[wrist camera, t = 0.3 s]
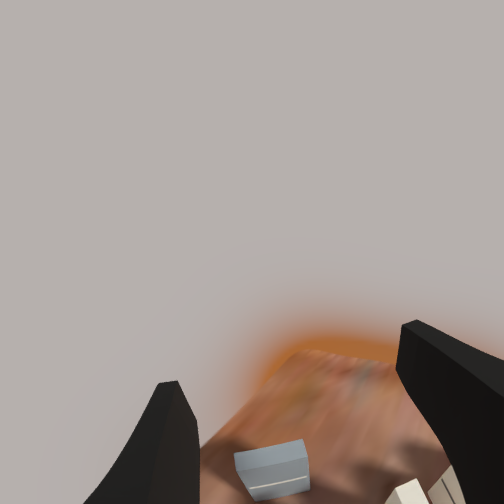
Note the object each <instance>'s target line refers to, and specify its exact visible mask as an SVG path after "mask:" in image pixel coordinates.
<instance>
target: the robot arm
mask: <svg viewBox="0 0 504 504" xmlns="http://www.w3.org/2000/svg"><path fill="white" fill-rule="evenodd" d="M396 371H397V373H398V375H399V377H400V380H401V382H402V384H403V386H404V387H405V389H406V391H407V393H408V395H409V396H410V398H411V399H412V401H413V402H414V404H415V405H416V407H417V408H418V410H419V411H420V412H421V414H422V415H423V417H424V418H425V420H426V421H427V423H428V424H429V426H430V427H431V429H432V430H433V432H434V433H435V435H436V436H437V438H438V439H439V441H440V443H441V445H442V446H443V448H444V450H445V452H446V455H447V457H448V459H449V461H450V463H451V465H452V468H453V470H454V472H455V475H456V477H457V480H458V482H459V485H460V488H461V491H462V494H463V497H464V500H465V503H466V504H504V360H501V359H499V358H496V357H494V356H491V355H489V354H487V353H484V352H482V351H480V350H478V349H476V348H474V347H472V346H469V345H467V344H465V343H463V342H461V341H459V340H457V339H455V338H453V337H451V336H449V335H447V334H445V333H443V332H441V331H440V330H437V329H436V328H434V327H432V326H430V325H427V324H425V323H423V322H421V321H419V320H414V321H411V322H409V323H406V324H403V325H402V327H401V335H400V343H399V350H398V356H397V363H396ZM83 504H200V445H199V435H198V427H197V420H196V418H195V416H194V414H193V412H192V410H191V408H190V406H189V404H188V402H187V400H186V398H185V395H184V393H183V391H182V389H181V387H180V385H179V383H178V381H171V382H164V383H159V384H158V385H157V387H156V389H155V391H154V393H153V395H152V397H151V399H150V401H149V403H148V405H147V407H146V409H145V411H144V413H143V414H142V416H141V418H140V420H139V422H138V424H137V426H136V427H135V429H134V431H133V433H132V435H131V437H130V438H129V440H128V442H127V444H126V445H125V447H124V449H123V450H122V452H121V453H120V455H119V457H118V458H117V460H116V461H115V463H114V464H113V466H112V468H111V469H110V470H109V472H108V473H107V475H106V476H105V478H104V479H103V480H102V481H101V483H100V484H99V486H98V487H97V488H96V489H95V490H94V492H93V493H92V494H91V495H90V496H89V497H88V499H87V500H86V501H85V502H84V503H83Z"/></svg>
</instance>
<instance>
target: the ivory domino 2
mask: <svg viewBox="0 0 504 504" xmlns="http://www.w3.org/2000/svg"><path fill="white" fill-rule="evenodd" d="M427 493H428V495H429V497H430V499H431V501H432V503H433V504H466V503H465V500H464V497H463V494H462V491H461V488H460V485H459V482H458V480H457V477H456V475H455V472H454V470H453V468H452V465H450V466H449V468H448V469H447V470H446V471H445V472H444V474H443V475H442V476H441V477H440V478H439V480H438V481H437V482H436V483H435V484H434V485H433V486H432V487H431V489H430V490H429V491H428V492H427Z"/></svg>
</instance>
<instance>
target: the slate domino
mask: <svg viewBox="0 0 504 504" xmlns="http://www.w3.org/2000/svg"><path fill="white" fill-rule="evenodd" d="M234 458H235V466H236V472H237V473H238V475H239V477H240V478H241V480H242V482H243V483H244V485H245V486H246V488H247V490H248V491H249V493H250V494H251V496H252V498H253V499H254V501H255V502H257V501H263V500H269V499H274V498H279V497H284V496H288V495H293V494H297V493H301V492H305V491H309V490H310V478H309V465H308V456H307V452H306V449H305V446H304V442H303V439H300V440H296V441H292V442H288V443H284V444H279V445H275V446H270V447H265V448H260V449H255V450H250V451H244V452H238V453H234Z"/></svg>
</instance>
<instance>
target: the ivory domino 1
mask: <svg viewBox="0 0 504 504" xmlns="http://www.w3.org/2000/svg"><path fill="white" fill-rule="evenodd" d="M385 504H429V503H428V501H427V499H426V497H425V495H424V493H423V491H422V488H421V486H420V484H419V482H418V480H417V478H416V479H414V480H412V481H410V482H408V483H405V484H403V485H401V486H399V487H396V488H395V489H394V490H393V492H392V493H391V495H390V496H389V498H388V499H387V501H386V502H385Z"/></svg>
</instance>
